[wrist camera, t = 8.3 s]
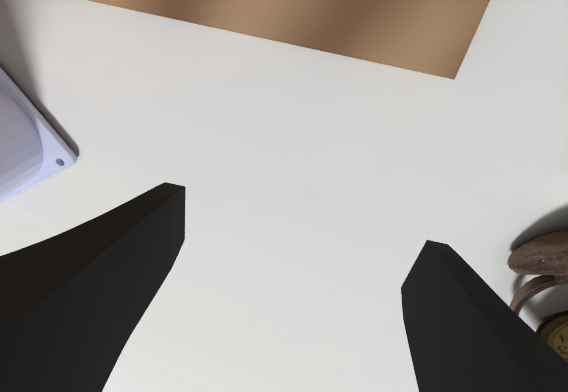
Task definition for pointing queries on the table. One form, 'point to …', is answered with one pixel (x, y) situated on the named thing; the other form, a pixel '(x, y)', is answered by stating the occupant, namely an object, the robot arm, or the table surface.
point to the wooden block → (343, 26)
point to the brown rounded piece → (544, 282)
